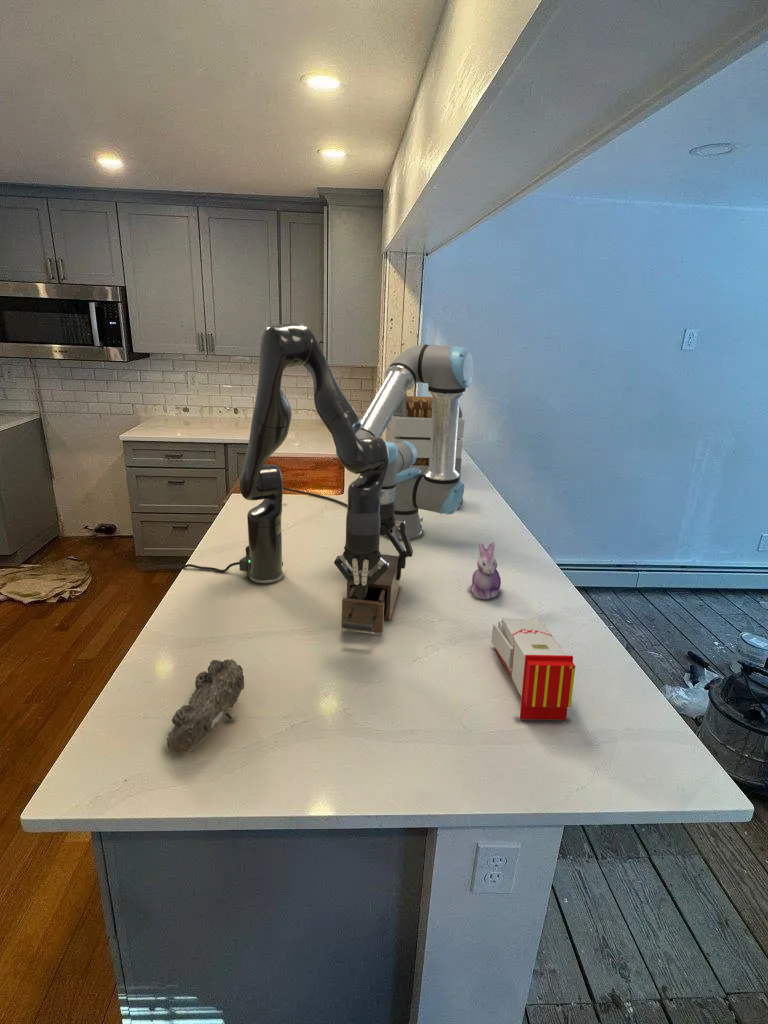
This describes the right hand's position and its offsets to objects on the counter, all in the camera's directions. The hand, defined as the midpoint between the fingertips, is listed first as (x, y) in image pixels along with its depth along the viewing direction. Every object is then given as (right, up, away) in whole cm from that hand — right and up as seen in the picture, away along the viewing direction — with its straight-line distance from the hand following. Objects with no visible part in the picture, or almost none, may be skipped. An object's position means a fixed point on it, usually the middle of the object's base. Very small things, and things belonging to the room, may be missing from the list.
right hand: (377, 575), depth 156 cm
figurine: (+31, -5, +4) cm, 31 cm away
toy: (+33, -19, -33) cm, 50 cm away
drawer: (-3, -9, -14) cm, 17 cm away
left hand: (-4, -2, -26) cm, 26 cm away
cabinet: (-1, -6, -3) cm, 7 cm away
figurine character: (+30, +20, +76) cm, 84 cm away
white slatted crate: (+19, +36, +118) cm, 125 cm away
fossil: (-31, -21, -48) cm, 61 cm away
